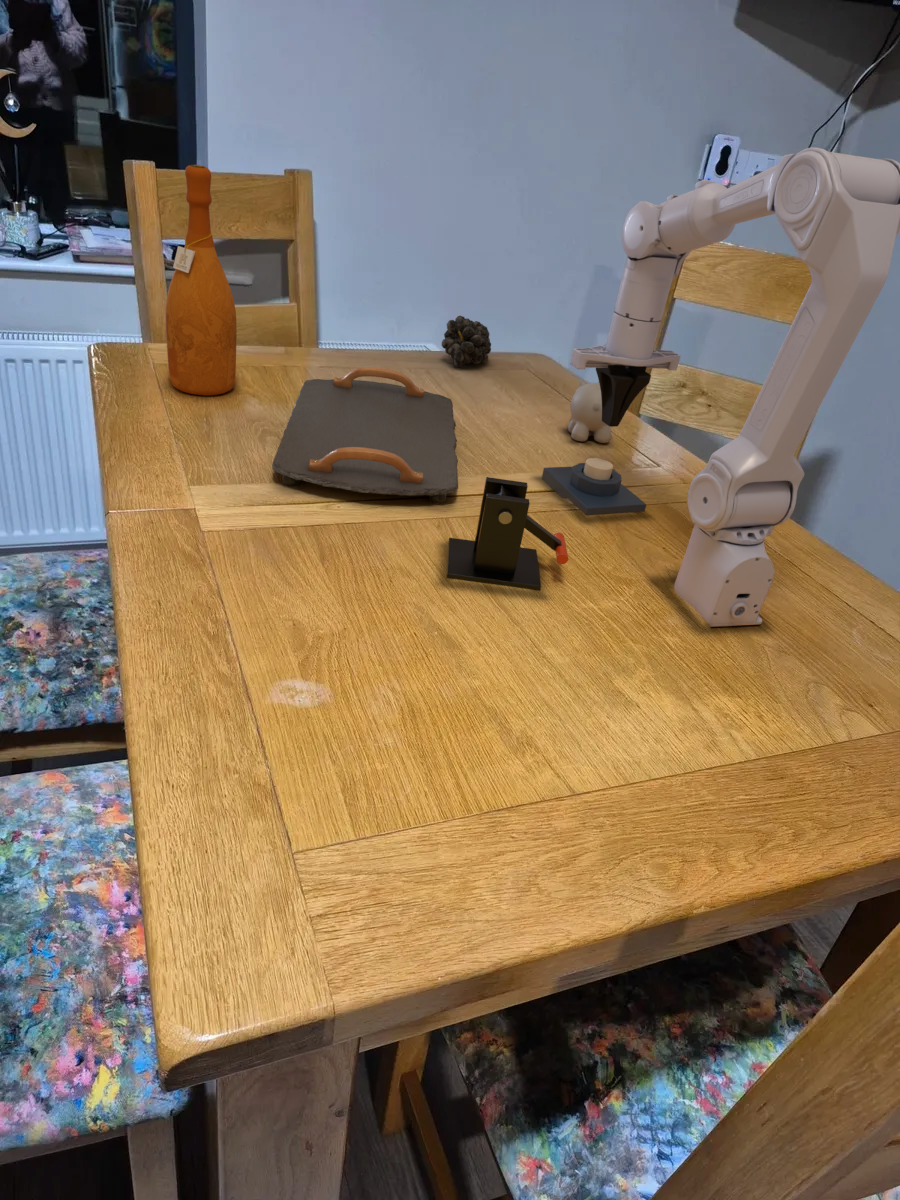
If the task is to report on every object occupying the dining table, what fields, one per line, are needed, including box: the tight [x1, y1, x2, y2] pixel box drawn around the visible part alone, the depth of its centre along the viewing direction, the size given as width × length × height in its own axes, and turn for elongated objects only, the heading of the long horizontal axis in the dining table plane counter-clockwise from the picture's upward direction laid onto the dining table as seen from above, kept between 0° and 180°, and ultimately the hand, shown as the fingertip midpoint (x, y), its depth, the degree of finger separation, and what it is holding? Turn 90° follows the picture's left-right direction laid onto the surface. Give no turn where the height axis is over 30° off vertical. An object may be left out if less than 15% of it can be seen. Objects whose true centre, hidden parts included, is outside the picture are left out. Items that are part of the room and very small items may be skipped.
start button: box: [583, 457, 614, 480], centre depth 109 cm, size 4×4×2 cm
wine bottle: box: [165, 164, 237, 396], centre depth 117 cm, size 10×10×30 cm
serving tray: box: [271, 366, 459, 505], centre depth 113 cm, size 39×23×6 cm, turn 1°
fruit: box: [441, 315, 492, 368], centre depth 153 cm, size 9×8×15 cm
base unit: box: [541, 462, 647, 516], centre depth 110 cm, size 12×9×4 cm
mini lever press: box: [446, 476, 542, 591], centre depth 88 cm, size 10×8×10 cm
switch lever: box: [494, 486, 569, 565], centre depth 88 cm, size 10×5×2 cm
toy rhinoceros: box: [567, 378, 612, 444], centre depth 130 cm, size 7×12×8 cm, turn 1°
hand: (609, 423), depth 106 cm, fingers closed
